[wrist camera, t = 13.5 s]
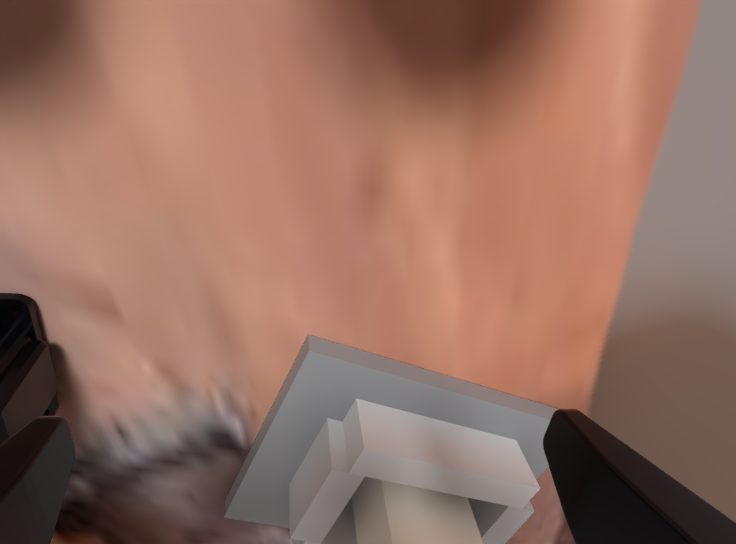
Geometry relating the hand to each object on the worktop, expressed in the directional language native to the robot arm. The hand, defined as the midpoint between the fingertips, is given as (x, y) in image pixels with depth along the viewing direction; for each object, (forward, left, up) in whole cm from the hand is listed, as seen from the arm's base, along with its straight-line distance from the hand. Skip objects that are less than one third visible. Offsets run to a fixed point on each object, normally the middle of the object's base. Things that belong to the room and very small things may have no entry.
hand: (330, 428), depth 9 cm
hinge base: (+6, -15, -12) cm, 20 cm away
